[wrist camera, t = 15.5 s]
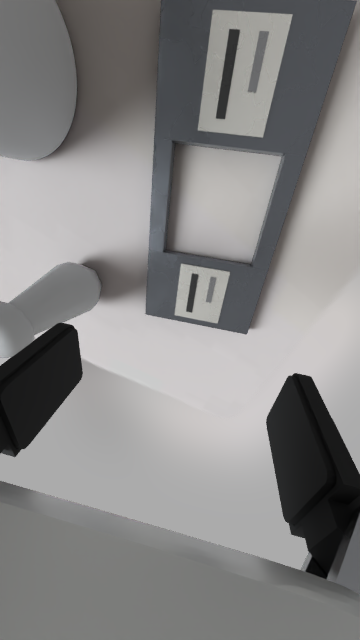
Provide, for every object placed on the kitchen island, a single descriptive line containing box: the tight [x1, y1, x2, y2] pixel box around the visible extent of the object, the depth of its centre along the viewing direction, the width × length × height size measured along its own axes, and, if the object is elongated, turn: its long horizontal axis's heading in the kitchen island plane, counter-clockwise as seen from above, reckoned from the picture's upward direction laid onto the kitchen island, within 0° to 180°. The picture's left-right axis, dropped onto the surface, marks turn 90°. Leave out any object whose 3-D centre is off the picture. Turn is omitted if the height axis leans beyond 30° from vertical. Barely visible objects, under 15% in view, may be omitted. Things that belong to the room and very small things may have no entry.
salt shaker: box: [0, 262, 102, 358], centre depth 21 cm, size 6×6×13 cm
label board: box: [146, 0, 357, 334], centre depth 20 cm, size 24×12×2 cm, turn 173°
